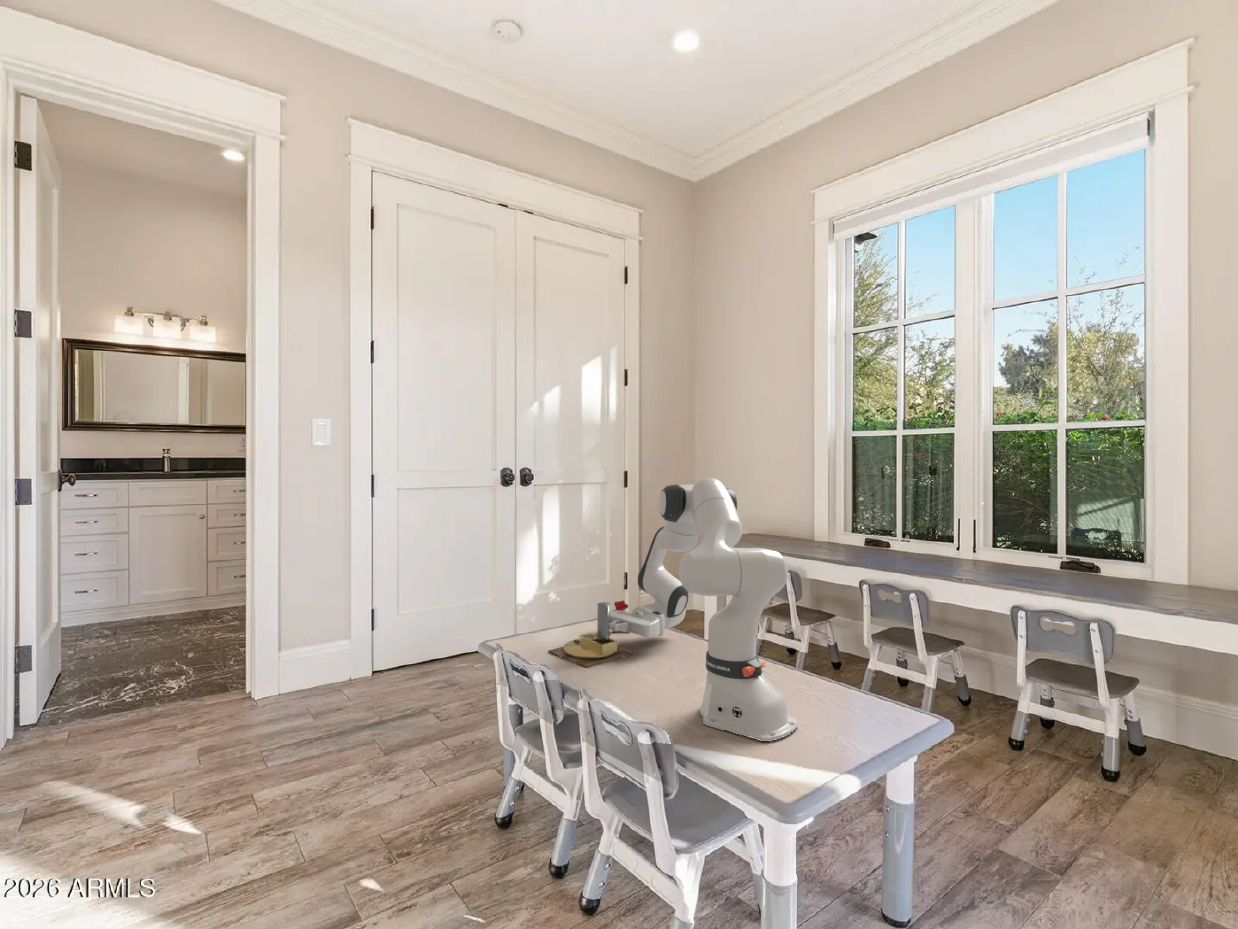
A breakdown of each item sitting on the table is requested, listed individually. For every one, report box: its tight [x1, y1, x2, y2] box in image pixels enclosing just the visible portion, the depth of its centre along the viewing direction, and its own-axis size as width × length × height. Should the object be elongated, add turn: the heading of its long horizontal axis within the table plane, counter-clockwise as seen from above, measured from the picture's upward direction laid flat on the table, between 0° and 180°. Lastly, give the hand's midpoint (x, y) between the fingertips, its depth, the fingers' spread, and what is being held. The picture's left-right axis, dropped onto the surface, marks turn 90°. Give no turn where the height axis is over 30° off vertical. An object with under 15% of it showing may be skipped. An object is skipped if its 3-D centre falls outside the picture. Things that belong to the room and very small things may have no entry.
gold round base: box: [563, 632, 618, 660], centre depth 189 cm, size 17×16×4 cm
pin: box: [596, 601, 611, 644], centre depth 185 cm, size 4×4×14 cm
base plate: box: [547, 646, 633, 669], centre depth 189 cm, size 18×18×1 cm
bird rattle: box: [611, 600, 629, 633], centre depth 213 cm, size 6×11×9 cm
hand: (612, 627), depth 188 cm, fingers closed
